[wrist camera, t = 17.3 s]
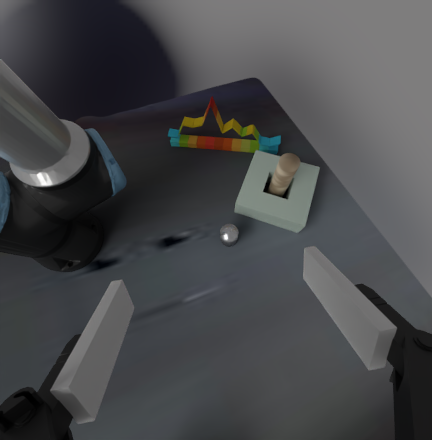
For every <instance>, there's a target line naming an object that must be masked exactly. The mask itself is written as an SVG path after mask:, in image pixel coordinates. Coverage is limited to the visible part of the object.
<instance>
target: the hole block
mask: <svg viewBox="0 0 432 440" xmlns="http://www.w3.org/2000/svg"><path fill="white" fill-rule="evenodd" d="M279 159H280V156H276V155H273V154H269V153H265V152H262V151H258V150H256V151H255V154H254V156H253V159H252V162H251V164H250V167H249V170H248V172H247V175H246V177H245V180H244V183H243V185H242V188H241V190H240V193H239V196H238V198H237V201H236V203H235V212H236V213H239V214H242V215H245V216H248V217H251V218H254V219H257V220H260V221H263V222H266V223H269V224H272V225H275V226H278V227H281V228H284V229H287V230H290V231H293V232H297V233H298V232H299V231H301V230H302V229H303V228H304V227H305V225H306V221H307V217H308V213H309V209H310V205H311V201H312V197H313V193H314V189H315V185H316V181H317V177H318V173H319V169H320V167H317V166H313V165H310V164H306V163H302V162H300V166H299V168H298V169H297V171H296V173H295V175H294V177H293V178H292V180H291V182H290V184H289V186H288V187H287V188H288V192H287V195H286V199H284V198H281V197H278V196H275V195H271V194H268V193H265V192H263V190H264V187H265V184H266V182H268V183H271V180H272V178H273V175H274V172H275V170H276V167H277V164H278V162H279Z"/></svg>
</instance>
